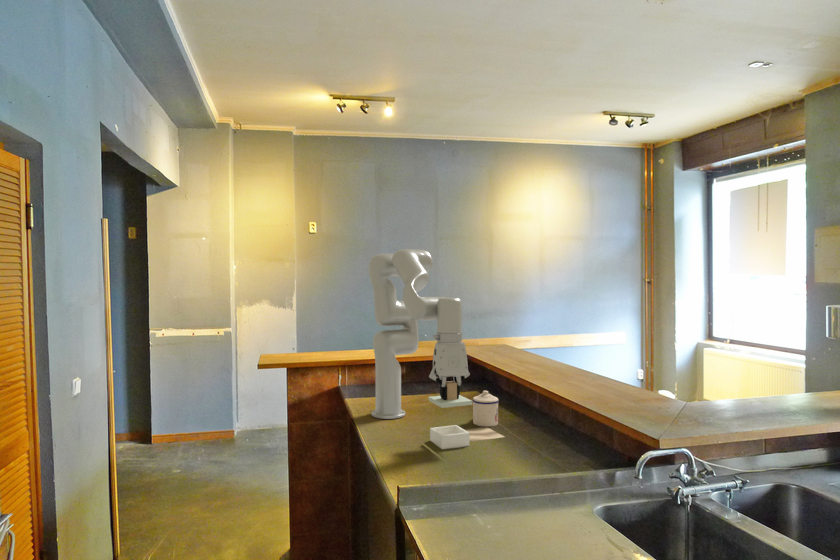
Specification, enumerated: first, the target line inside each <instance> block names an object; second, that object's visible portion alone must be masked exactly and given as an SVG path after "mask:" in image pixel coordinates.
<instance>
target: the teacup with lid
mask: <svg viewBox="0 0 840 560" xmlns="http://www.w3.org/2000/svg"><path fill="white" fill-rule="evenodd" d="M471 400H472V419H473V420H472V422H473V423H472V424H474V425H475V426H479V427H494V426H497V425H499V397H498V396H497V397H496V396H494V395H492V394H491V393H489V391H488V390H483V391H482V393H481V394H480V393H479V395H476V396H474V397H472V399H471Z"/></svg>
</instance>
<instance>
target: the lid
mask: <svg viewBox="0 0 840 560" xmlns="http://www.w3.org/2000/svg"><path fill="white" fill-rule="evenodd" d="M446 387H447V400H444V399H442V398H441V396H440V395H431V396H428V402H430V403H432V404H434V405H435V406H438V407H440V408H442V409H445V408H454V407H463V406H473V401H472V400H473V399H469V398H468V397H465V396H463V395H461V394H460V395H459V399H457V383H456V382H454V380H450V381H449V380H448V381H447V380H446Z"/></svg>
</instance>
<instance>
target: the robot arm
mask: <svg viewBox="0 0 840 560" xmlns="http://www.w3.org/2000/svg"><path fill="white" fill-rule="evenodd" d="M433 263H434V261H433V257H432V256H431V254H430V252H429V251H427V250H425V249H415V248H414V249H413V248H402V249H399V250H397V251H395V252H394V253H379V254H376V255H373V256H371V258H370V260H369V262H368V277H369V279H370V282H371V286H372V289H373V290H372V291H373V303H374V304H373V305H374V318H375V323H377V325H379V326H381V327H399V326H401V327H400V329H386V330H385V329H384V330H380V331H378V332H376V333H375V334H374V336H373V338H372V346H373V348H372V349H373V353H374V360H375V361H374V363H375V365H374V366H375V409H373V410H372V411H371V413H370V414H371V416H372V417H373V418H376V419H380V420H382V419H383V420H394V419H400V418H403V417H404V416H406V411H405V409H402V367H401V364H400V363H399V361H398V360H397V358H396V356H401V355H412V354H414V353H415V352H417V350H418V348H419V346H420V345H419V343H420V342H419V340H420V339H419V325H418V321H419V322H426V321H436V326H437V331H436V334H434V335H433V338H432V339H433V340H434V341H435V340H436V342H435V344H434V349H433V355H432V369H431V371H430V373H429V375H428V377H429V379H431V380H433V381H435V382H436V383H437V384H438V386H439V396H441V398H442V399H444V400H447V387H446V381H447V378H448V377H449V378H450V377H452V378H453V381H454V382H456V383H457V399H459V395H461V392H460V391H461V390H460V388H461V387H460V386H461V385H462V383H463V382H464V381H465V379H466V378H468V377H469V376H470V375H471V373H470V371H469V365H468V354H467V348H466V347H467V346H466V342H463V318H462V317H463V305H462V304H463V302H462V300H461V299H460V298H458V297H448V296H420V295H419V294H418V292H420V291H422V290H423V289H424V288H425V287H427V285H428V283H429V282H430V275H429V272H430V271H431V269H432V268H433ZM389 277H400V279H401V280H402V282H403V283H404V287H403V290H402V300H398V298H397V289H396V288H397V287H395V285H394V283H393V282H392V280H391V279H390V278H389Z"/></svg>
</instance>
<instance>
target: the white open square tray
mask: <svg viewBox="0 0 840 560" xmlns="http://www.w3.org/2000/svg"><path fill="white" fill-rule="evenodd" d="M429 439H430V440H429V441H430V442H431V443H432V444H434V446H436V447H438V448H439V449H440V450H448V449H451V450H452V449H457V448H458V449H459V448H465V447H470V440H469V432H467V431H466V430H465V429H464V428H463V427H460V426H459V425H457V424H454V425H453V424H452V425H445V426H444V425H443V426H438V427H430V428H429Z"/></svg>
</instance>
